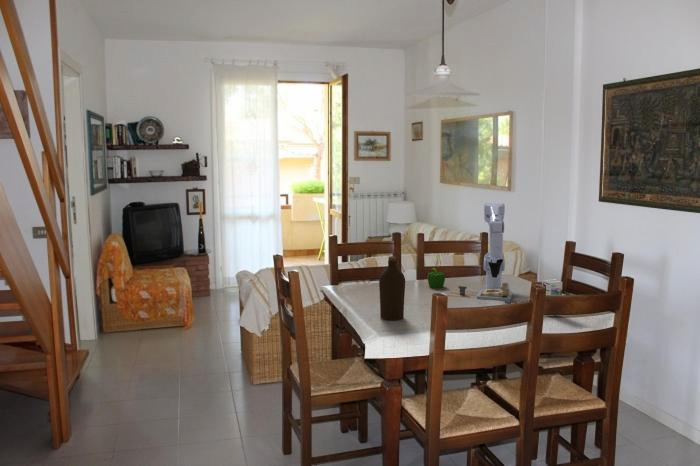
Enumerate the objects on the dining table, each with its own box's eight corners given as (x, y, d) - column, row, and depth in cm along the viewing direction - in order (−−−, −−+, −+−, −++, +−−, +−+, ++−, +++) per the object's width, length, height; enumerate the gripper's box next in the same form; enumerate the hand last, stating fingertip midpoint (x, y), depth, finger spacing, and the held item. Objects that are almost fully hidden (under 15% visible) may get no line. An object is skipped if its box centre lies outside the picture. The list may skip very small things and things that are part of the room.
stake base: (452, 292, 297) (452, 282, 296) (477, 294, 293) (477, 283, 292) (447, 298, 285) (447, 287, 285) (473, 299, 281) (474, 289, 281)
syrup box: (549, 317, 252) (550, 282, 250) (541, 313, 257) (542, 279, 255) (561, 316, 253) (563, 281, 251) (553, 312, 259) (554, 278, 257)
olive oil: (393, 322, 245) (394, 260, 241) (373, 317, 252) (373, 257, 249) (410, 317, 252) (410, 256, 249) (390, 312, 260) (390, 253, 256)
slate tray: (480, 293, 294) (480, 289, 294) (512, 295, 289) (512, 291, 289) (476, 300, 280) (476, 296, 280) (509, 302, 276) (509, 298, 275)
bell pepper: (447, 289, 303) (448, 269, 302) (433, 291, 300) (433, 270, 299) (439, 286, 311) (439, 266, 309) (424, 287, 308) (425, 267, 306)
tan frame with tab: (509, 292, 287) (508, 281, 286) (507, 297, 278) (506, 285, 278) (484, 293, 290) (483, 282, 290) (482, 297, 282) (481, 285, 282)
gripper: (489, 244, 295) (488, 272, 297) (485, 248, 281) (484, 278, 283) (504, 245, 293) (503, 273, 294) (501, 249, 279) (500, 279, 281)
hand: (495, 275), depth 288 cm, fingers open, 7 cm apart
